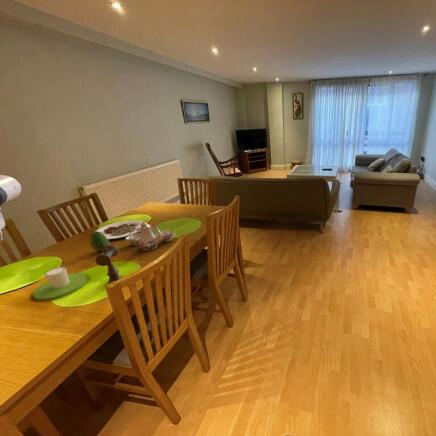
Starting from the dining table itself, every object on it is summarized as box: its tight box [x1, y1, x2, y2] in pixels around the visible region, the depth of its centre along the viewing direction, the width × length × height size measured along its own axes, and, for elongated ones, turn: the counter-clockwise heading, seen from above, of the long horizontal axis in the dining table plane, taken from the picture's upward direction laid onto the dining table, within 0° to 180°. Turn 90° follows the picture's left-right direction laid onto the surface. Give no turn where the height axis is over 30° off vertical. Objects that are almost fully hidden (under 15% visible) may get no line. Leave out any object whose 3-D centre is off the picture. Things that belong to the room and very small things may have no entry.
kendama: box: [95, 243, 123, 284], centre depth 107 cm, size 6×10×20 cm, turn 17°
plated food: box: [94, 219, 147, 240], centre depth 161 cm, size 30×30×3 cm
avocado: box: [90, 230, 110, 252], centre depth 135 cm, size 8×8×12 cm
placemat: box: [32, 272, 88, 301], centre depth 107 cm, size 18×18×1 cm
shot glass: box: [44, 266, 69, 288], centre depth 106 cm, size 7×7×7 cm
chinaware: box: [123, 221, 177, 252], centre depth 141 cm, size 28×17×17 cm, turn 113°
